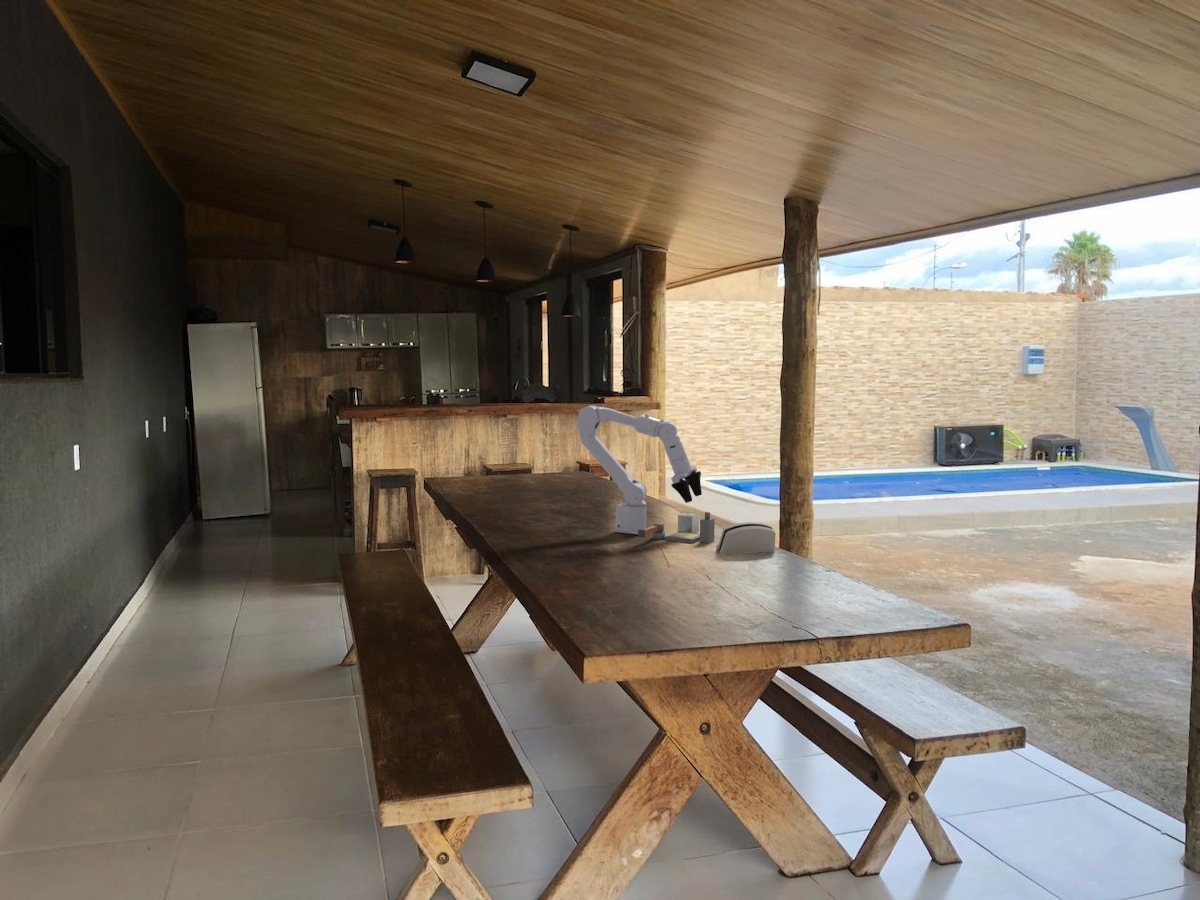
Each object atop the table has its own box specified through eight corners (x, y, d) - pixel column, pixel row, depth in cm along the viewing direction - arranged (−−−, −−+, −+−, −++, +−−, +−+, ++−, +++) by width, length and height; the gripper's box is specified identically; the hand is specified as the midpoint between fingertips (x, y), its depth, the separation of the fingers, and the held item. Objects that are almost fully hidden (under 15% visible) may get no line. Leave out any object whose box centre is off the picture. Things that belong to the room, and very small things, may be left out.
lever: (635, 536, 279) (635, 529, 279) (656, 529, 291) (656, 522, 291) (644, 537, 278) (644, 530, 277) (665, 530, 289) (665, 523, 289)
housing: (677, 533, 297) (677, 514, 297) (684, 531, 302) (684, 512, 301) (692, 535, 295) (692, 516, 294) (698, 532, 299) (698, 513, 299)
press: (649, 538, 288) (650, 509, 288) (663, 533, 297) (663, 505, 296) (704, 545, 279) (705, 515, 278) (717, 539, 287) (718, 510, 286)
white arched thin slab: (768, 548, 275) (773, 518, 271) (774, 556, 271) (780, 526, 267) (714, 550, 271) (719, 520, 267) (720, 559, 267) (725, 529, 263)
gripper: (679, 460, 286) (695, 501, 287) (698, 449, 298) (713, 489, 299) (660, 466, 290) (676, 507, 290) (679, 456, 302) (695, 495, 303)
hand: (694, 498), depth 295 cm, fingers open, 7 cm apart
